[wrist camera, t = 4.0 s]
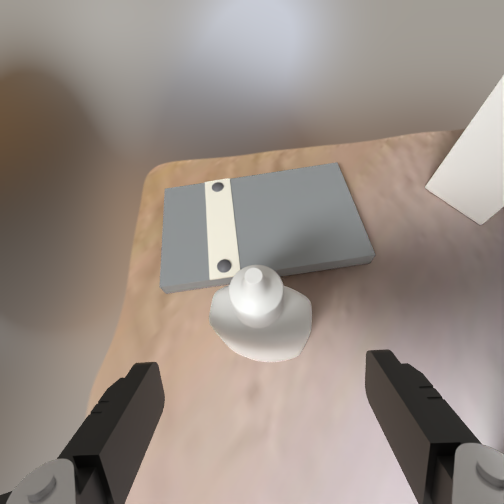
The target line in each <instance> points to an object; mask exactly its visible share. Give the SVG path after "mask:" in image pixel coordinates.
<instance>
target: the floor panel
mask: <svg viewBox="0 0 504 504" xmlns="http://www.w3.org/2000/svg"><path fill="white" fill-rule="evenodd" d="M374 257H375V252H374V250H373V247H372V245H371V243H370V240H369V238H368V235H367V233H366V231H365V228H364V226H363V223H362V221H361V218H360V216H359V214H358V211H357V209H356V206H355V204H354V202H353V199H352V197H351V194H350V192H349V190H348V187H347V185H346V182H345V180H344V177H343V175H342V173H341V170H340V168H339V165H338V163H331V164H324V165H318V166H311V167H305V168H298V169H292V170H285V171H279V172H272V173H265V174H259V175H252V176H246V177H239V178H233V179H230V178H228V179H221V180H215V181H208V182H205V183H200V184H194V185H187V186H180V187H174V188H167V189H165V197H164V216H163V235H162V253H161V272H160V288H161V289H162V290H163V291H164V292H165V293H166V294H167V293H174V292H181V291H187V290H194V289H201V288H207V287H214V286H221V285H227V284H230V282H231V280H232V279H233V277H234V275H236V273H238V271H240V270H241V269H242V268H244V267H247V266H250V265H255V264H256V265H264V266H267V267H269V268H271V269H272V270H274V271H276V273H278V275H279V277H281V276H288V275H294V274H301V273H308V272H314V271H321V270H328V269H334V268H341V267H348V266H355V265H361V264H368V263H370V262H371V261H372V260H373V258H374Z"/></svg>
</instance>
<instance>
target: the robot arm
mask: <svg viewBox="0 0 504 504" xmlns="http://www.w3.org/2000/svg"><path fill="white" fill-rule="evenodd" d="M365 389H366V394H367V398H368V401H369V404H370V406H371V408H372V410H373V412H374V414H375V416H376V418H377V420H378V422H379V424H380V426H381V428H382V430H383V432H384V434H385V436H386V438H387V440H388V442H389V444H390V446H391V448H392V450H393V453H394V455H395V457H396V459H397V461H398V463H399V465H400V467H401V469H402V471H403V473H404V475H405V477H406V479H407V481H408V483H409V485H410V487H411V489H412V491H413V493H414V495H415V497H416V499H417V501H418V503H419V504H504V454H503V453H501V452H499V451H498V450H495V449H493V448H491V447H488V446H486V445H482V444H481V442H480V441H479V440H478V439H477V438H476V437H475V435H474V434H473V433H472V432H471V431H470V429H469V428H468V427H467V426H466V425H465V423H464V422H463V421H462V420H461V419H460V418H459V416H458V415H457V414H456V413H455V412H454V410H453V409H452V408H451V407H450V406H449V404H448V403H447V402H446V401H445V400H444V399H442V396H441V395H440V394H439V393H438V391H437V390H436V389H435V388H433V385H432V384H431V383H430V382H429V381H428V379H427V378H426V377H425V376H424V375H423V373H421V372H420V371H418V370H417V369H415V368H414V367H412V366H411V365H409V364H408V363H407V364H401V363H400V362H399V361H398V359H397V358H396V357H395V355H394V354H393V353H392V352H391V351H390V350H370V351H367V353H366V373H365ZM164 401H165V396H164V390H163V385H162V380H161V376H160V371H159V367H158V364H157V363H156V362H145V363H135V364H134V365H133V367H132V368H131V370H130V371H129V373H128V374H127V376H126V377H125V378H120V379H119V380H118V381H116V382H115V383H114V384H113V385H112V386H110V387H109V388H108V389H107V390H106V392H105V393H104V394H103V396H102V397H101V399H100V400H99V401H98V404H96V405H95V407H94V408H93V410H92V411H91V414H90V415H88V417H87V418H86V419H85V421H84V422H83V423H82V425H81V426H80V428H79V429H78V430H77V432H76V433H75V435H74V436H73V437H72V439H71V440H70V441H69V443H68V444H67V446H66V447H65V449H64V450H63V451H62V453H61V454H60V455H59V457H58V458H57V459H56V460H52V461H49V462H47V463H45V464H43V465H41V466H39V467H38V468H36V469H35V470H33V471H32V472H31V473H29V474H28V475H27V476H26V477H25V478H24V479H23V480H22V481H21V482H20V483H19V484H18V485H17V486H16V488H15V489H14V490H13V491H11V492H8V493H6V494H3V495H0V504H125V501H126V499H127V496H128V494H129V491H130V489H131V487H132V484H133V482H134V479H135V477H136V475H137V472H138V470H139V467H140V465H141V463H142V460H143V458H144V455H145V453H146V451H147V448H148V446H149V443H150V441H151V438H152V436H153V434H154V431H155V429H156V426H157V424H158V422H159V419H160V417H161V414H162V412H163V408H164Z"/></svg>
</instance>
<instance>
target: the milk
mask: <svg viewBox="0 0 504 504" xmlns="http://www.w3.org/2000/svg"><path fill="white" fill-rule="evenodd" d="M425 188H426V189H427V190H429V191H430V192H432V193H433V194H434V195H436V196H437V197H439V198H440V199H442V200H443V201H445V202H446V203H448V204H449V205H451V206H452V207H454V208H455V209H457V210H458V211H460V212H461V213H463V214H464V215H466V216H467V217H469V218H470V219H472V220H473V221H475V222H476V223H477V224H479V225H482V224H484V223H485V222H486V221H487V220H488V219H490V218H491V217H492V216H493V215H494V214H496V213H497V212H498V211H499V210H501V209H502V208H503V207H504V75H503V76H502V78H501V79H500V80H499V82H498V83H497V85H496V86H495V88H494V89H493V91H492V92H491V93H490V95H489V96H488V98H487V99H486V100H485V102H484V103H483V105H482V106H481V108H480V109H479V110H478V112H477V113H476V115H475V116H474V118H473V119H472V120H471V122H470V123H469V125H468V126H467V128H466V129H465V130H464V132H463V133H462V135H461V136H460V138H459V139H458V140H457V142H456V143H455V145H454V146H453V148H452V149H451V150H450V152H449V153H448V155H447V156H446V158H445V159H444V160H443V162H442V163H441V165H440V166H439V168H438V169H437V170H436V172H435V173H434V175H433V176H432V178H431V179H430V180H429V182H428V183H427V185H426V186H425Z"/></svg>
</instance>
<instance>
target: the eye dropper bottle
mask: <svg viewBox="0 0 504 504" xmlns="http://www.w3.org/2000/svg"><path fill="white" fill-rule="evenodd" d="M209 321H210V325H211V326H212V328H213V329H214V330H215V332H216V333H217V334H218V335H219V337H220V338H221V339H222V340H223V341H224V342H225V343H226V345H227V346H228V347H229V348H230V349H231V350H233V351H234V352H236V353H238V354H240V355H242V356H244V357H246V358H249V359H252V360H256V361H262V362H280V361H285V360H289V359H293V358H295V357H297V356H299V355H300V354H301V352H302V350H303V348H304V346H305V344H306V342H307V340H308V338H309V335H310V332H311V326H312V305H311V302H310V300H309V299H308V298H307V297H306V296H304V295H303V294H301V293H299V292H298V291H296V290H294V289H292V288H289V287H287V286H284V285H283V282H282V280H281V278H280V277H279V275H278V273H276V271H274V270H272V269H271V268H269V267H267V266H264V265H256V264H255V265H250V266H247V267H244V268H242V269H241V270H240V271H238V273H236V275H234V277H233V279H232V280H231V282H230V285H228V286H226V287H223V288H221V289H219V290H218V291H217V292H216V293H215V294H214V296H213V299H212V304H211V309H210V315H209Z"/></svg>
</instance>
